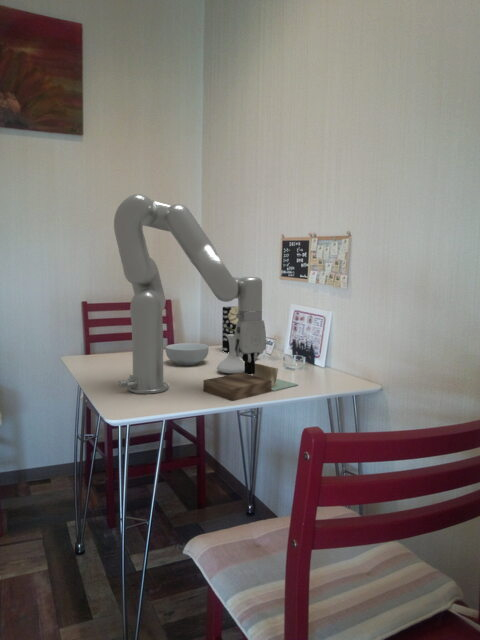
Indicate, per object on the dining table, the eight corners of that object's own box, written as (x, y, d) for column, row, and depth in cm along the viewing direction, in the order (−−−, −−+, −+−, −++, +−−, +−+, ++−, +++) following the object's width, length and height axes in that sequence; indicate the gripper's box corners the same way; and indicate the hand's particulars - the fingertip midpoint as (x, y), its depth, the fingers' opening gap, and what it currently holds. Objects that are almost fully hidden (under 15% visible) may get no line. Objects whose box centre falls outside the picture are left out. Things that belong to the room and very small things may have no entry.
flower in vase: (211, 373, 175) (211, 304, 172) (226, 367, 185) (226, 302, 182) (243, 377, 169) (243, 306, 166) (257, 371, 179) (258, 304, 176)
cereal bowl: (212, 360, 199) (212, 343, 198) (202, 369, 183) (202, 350, 182) (173, 358, 202) (173, 341, 201) (159, 366, 185) (159, 348, 185)
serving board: (232, 400, 141) (232, 389, 141) (203, 391, 151) (203, 380, 151) (271, 391, 152) (271, 380, 151) (241, 382, 162) (241, 372, 162)
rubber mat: (273, 391, 152) (273, 390, 151) (241, 382, 163) (241, 381, 163) (298, 385, 159) (298, 384, 159) (266, 377, 170) (266, 376, 170)
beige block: (271, 367, 154) (278, 368, 156) (255, 363, 160) (261, 364, 162) (268, 386, 154) (274, 386, 156) (251, 381, 160) (258, 381, 162)
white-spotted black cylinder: (222, 349, 222) (223, 306, 220) (241, 350, 222) (241, 306, 219) (221, 353, 214) (221, 308, 211) (240, 353, 214) (240, 308, 211)
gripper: (239, 319, 144) (239, 379, 146) (275, 315, 154) (274, 372, 156) (224, 317, 150) (224, 375, 152) (259, 313, 160) (258, 368, 162)
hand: (249, 373), depth 154 cm, fingers closed
